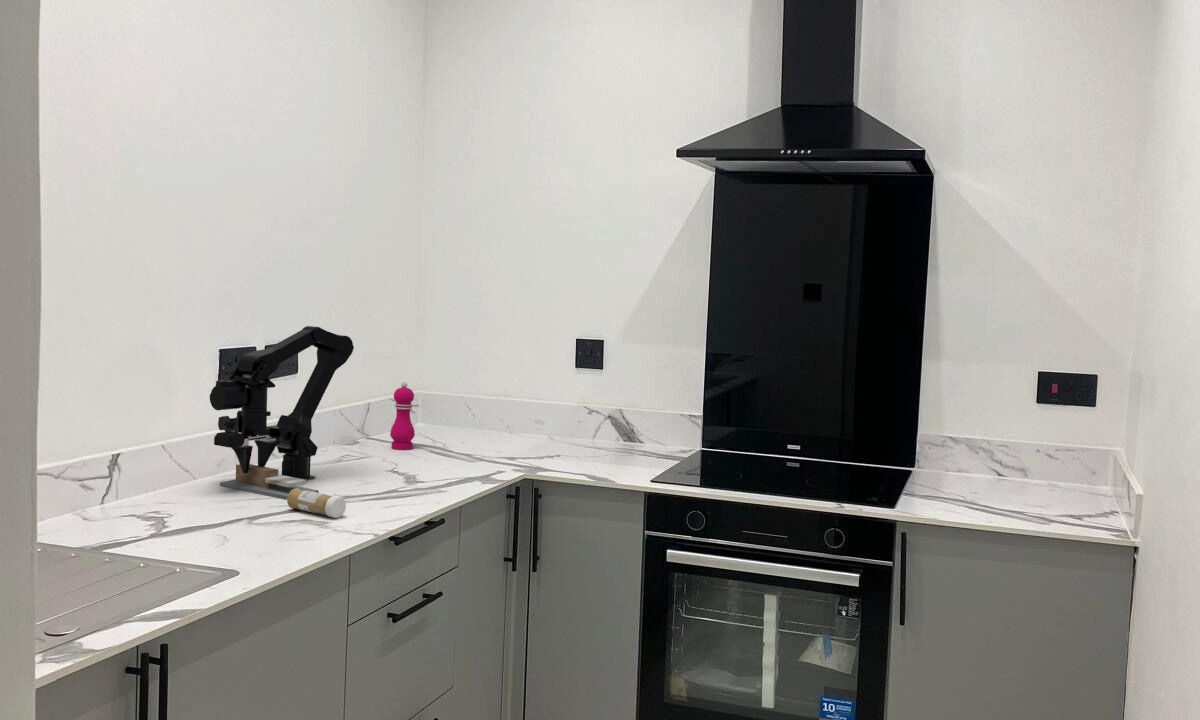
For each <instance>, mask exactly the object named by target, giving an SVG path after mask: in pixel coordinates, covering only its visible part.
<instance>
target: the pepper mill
mask: <svg viewBox="0 0 1200 720" xmlns="http://www.w3.org/2000/svg"><path fill="white" fill-rule="evenodd" d="M414 399H415V393H414V391H413V390H412V389H411V388H409V387H408V383H407V382H401V387H399V388H397V389H396V390H395V391H394V393H393V400H394V401H395V405H394V408H395V409H396V417H395V420H394V422H393V423H392V424H393V425H392V426H391V429H390V435H389V436H390V437H391V439H392V442H391V449H393V450H396V451H408V450H412V449H413V448H414V447H413V444H414V443H413V441H412V440H414V438H415V435H416V433H415V432H416V431H415V428H414V425H413V423H412V419H411V409H412V408H413V404H412V402H413V401H414Z"/></svg>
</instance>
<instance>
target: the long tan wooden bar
mask: <svg viewBox="0 0 1200 720" xmlns="http://www.w3.org/2000/svg"><path fill="white" fill-rule="evenodd" d="M279 473H280V472H279V468H272V467H267V466H265V467H263V466H258V464H252V463H250V464H249V469H248V472H247V473H246V474H245V473H243V472H242V469H241V466H240V463H239V464H235V479H236V482H241V483H245V484H250V485H255V486H260V487H265V488H272V487H277V486H278V485H280V486H285V487H295V486H299V487H300V486H302V485H303V486H304V485H307V480H304V479H299V478H294V477H289V476H284V475H282V474H281V475H280V474H279Z"/></svg>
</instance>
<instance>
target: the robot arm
mask: <svg viewBox="0 0 1200 720" xmlns="http://www.w3.org/2000/svg"><path fill="white" fill-rule="evenodd" d="M311 346H313V347H314V348H317V350H316V360H317V362H316V365H315V366H314V369H313V370H312V372H311V375H310V376H309V378H308V379H307V382H306V384H305V386H304V388H303V390H302V393H301V394H300V397H299V398H298V401H297V402H296V404H295V407H294V408H293V410H292V412H290V414H288V415H284V414H281V415H280V416H279V418H278V420H277V424H275V425H274V424H273V425H267V423H268V421H267V419H268V417H270V416H271V413H272V411H269V410H268V389H269V388H271V389H272V388H273V389H274V388H275V387H276V384H275V383H274V382H273V381H272V380H271V379H270V377H271V376H272V375H273V374H274V373H275V372H277V370H278V369H279V367H280V365H281V364H283V363H284V362H286V361H287V360H289V359H291V358H292V357H294V356H296V355H298V354H300V353H301V352H303V351H305V350H306V349H308V348H311ZM354 346H355V345H354V343H353V340H352V339H351V337H350V336H348V335H343V334H336V333H333V332H332V331H331V332H330V331H327V330H325V329H324V328H322V327H320V326H313V325H306V326H304V327H303V328H302V329H301V330H299V331H297V332H296V333H293V334H292V335H290V336H288V337H287V338H285V339H282V340H281V341H279V342H277V343H275V344H273V345H272V346H270V347H268V348H263V349H258V350H253V351H251V352H248V353H245V354H243V355H242V356H240V357H239V359H238V360H239V361H238V363H237V365H236V367H235V369H234V370H233V371H232V373H231V375H230V376H229V377H228V379H227V380H216V382H215V386H214V387H213V388H212V389H211V391H210V394H209V403H210V405H211V407H212V408H213V409H214V410H215V411H226V410H237V409H241V410H237V412H236V417H233V418H230V415H223V416H219V417H218V422H217V426H218V430H219V431H220V432H217V433H216V434H215V435H214V438H213V445H215V446H219V447H223V448H230V449H232V450H233V452H234V453H235V455H236V458H237V460H238V463H239V464H240V466H241V469H242V472H243V473H245V474H246V473H247V472H248V469H249V464H251V458H252V452H253V448H254V447H253V445H250V444H249V443H250V441H254V444H256V447H257V466H263V467H266V466H267V463H268V461H269V459H270V458H271V456H272V454H273V453H274V450H276V449H277V452H278V453H279V454H283V455H282V461H281V475H284V476H289V477H294V478H299V479H304V480H306V481H307V480H311V479H312V480H313V479H315V477H316V476H315V475H311V457H313V456H316V455H317V451H318V448H319V447H318V446H317V445H316V443H314V442H313V440H312V439H311V436H312V432H313V431H312V430H313V427H312V419H313V417H314V415H315V413H316V411H317V409H318V407H319V405H320V403H321V401H322V399H323V397H324V395H325V393H326V391H327V389H328V387H329V385H330V383H331V381H332V378H333V376H334V374H335V372H336V371H337V370H338V369H339V368H341V367H342V366H343V365H344V364H346V362H348V359H349V358H350V357H351V355H353V352H354V350H355V347H354ZM222 431H223V432H222ZM275 448H276V449H275Z"/></svg>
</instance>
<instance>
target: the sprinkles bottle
mask: <svg viewBox="0 0 1200 720" xmlns="http://www.w3.org/2000/svg"><path fill="white" fill-rule="evenodd" d="M286 502H287V506H288V507H289V508H290V509H293V510H294V509H295V510H300V511H303V512H304V511H305V512H309V513H313V514H318V515H324V516H328V517H329V518H333V519H339V518H341V517H343V515H344V513H345V512H346V508H347V503H346V500H345V498H343V497H341V496H337V495H329V494H326V493H325V494H324V493H321V492H319V493H317V492H312V491H305V490H300V489H298V488H295V489H293V490H291V491H290V493H289V494H288V497H287V500H286Z"/></svg>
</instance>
